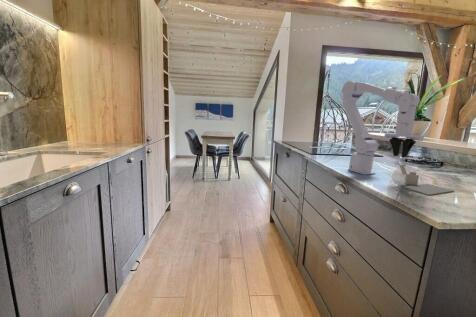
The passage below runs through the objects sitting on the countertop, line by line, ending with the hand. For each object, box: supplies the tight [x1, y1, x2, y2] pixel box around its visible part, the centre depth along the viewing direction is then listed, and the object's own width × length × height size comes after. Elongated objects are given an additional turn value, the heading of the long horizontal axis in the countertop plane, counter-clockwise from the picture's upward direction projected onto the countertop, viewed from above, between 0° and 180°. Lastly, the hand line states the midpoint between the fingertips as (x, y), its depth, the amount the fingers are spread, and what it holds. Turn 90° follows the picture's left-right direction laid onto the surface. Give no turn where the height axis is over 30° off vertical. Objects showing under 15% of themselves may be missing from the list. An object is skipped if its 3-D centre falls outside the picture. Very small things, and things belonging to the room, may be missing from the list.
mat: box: [402, 183, 455, 196], centre depth 91 cm, size 9×16×1 cm, turn 114°
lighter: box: [398, 163, 420, 186], centre depth 97 cm, size 7×2×8 cm, turn 69°
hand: (399, 156), depth 100 cm, fingers open, 3 cm apart
